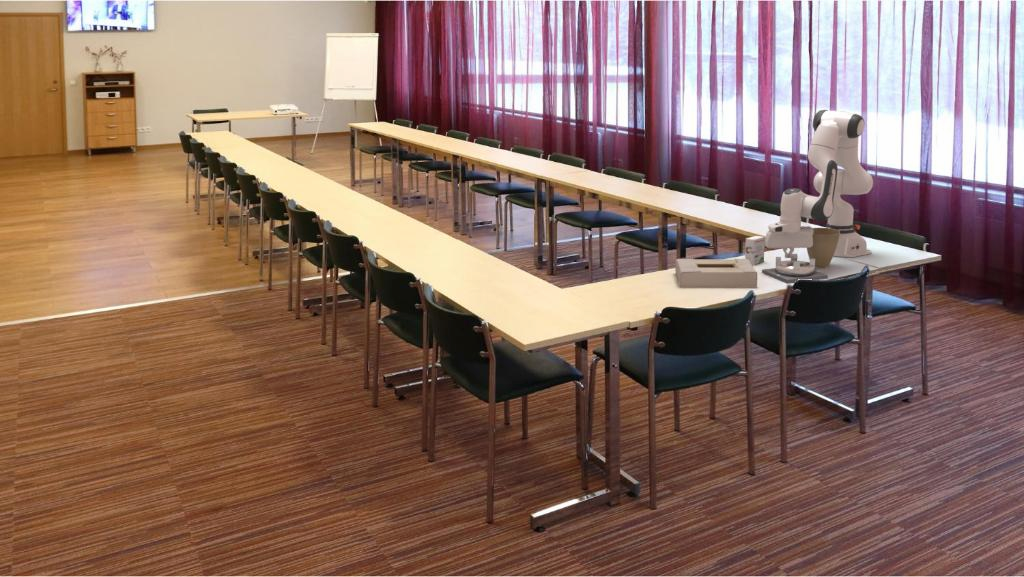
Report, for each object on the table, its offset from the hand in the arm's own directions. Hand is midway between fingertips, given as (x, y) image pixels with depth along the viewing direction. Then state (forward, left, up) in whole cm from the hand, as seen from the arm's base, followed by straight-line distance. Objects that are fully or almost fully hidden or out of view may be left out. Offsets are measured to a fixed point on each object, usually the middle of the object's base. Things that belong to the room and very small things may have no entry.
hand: (787, 257), depth 415 cm
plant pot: (-19, -3, -6) cm, 20 cm away
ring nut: (+1, +7, -4) cm, 9 cm away
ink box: (+4, -19, -6) cm, 21 cm away
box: (+36, +1, -7) cm, 36 cm away
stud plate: (+1, +7, -6) cm, 10 cm away
